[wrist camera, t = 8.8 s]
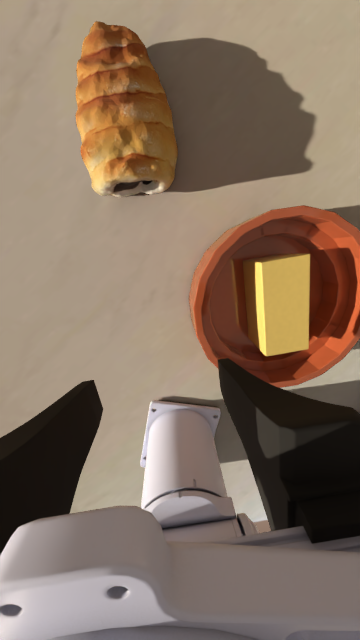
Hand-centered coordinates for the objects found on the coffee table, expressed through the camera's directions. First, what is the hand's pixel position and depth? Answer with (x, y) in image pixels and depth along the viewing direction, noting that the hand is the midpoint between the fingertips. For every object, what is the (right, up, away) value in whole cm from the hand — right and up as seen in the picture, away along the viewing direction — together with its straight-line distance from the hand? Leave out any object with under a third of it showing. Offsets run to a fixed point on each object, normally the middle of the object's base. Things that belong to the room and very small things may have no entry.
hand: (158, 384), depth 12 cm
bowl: (+9, +6, +8) cm, 14 cm away
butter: (+9, +6, +8) cm, 13 cm away
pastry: (-3, +18, +4) cm, 18 cm away
